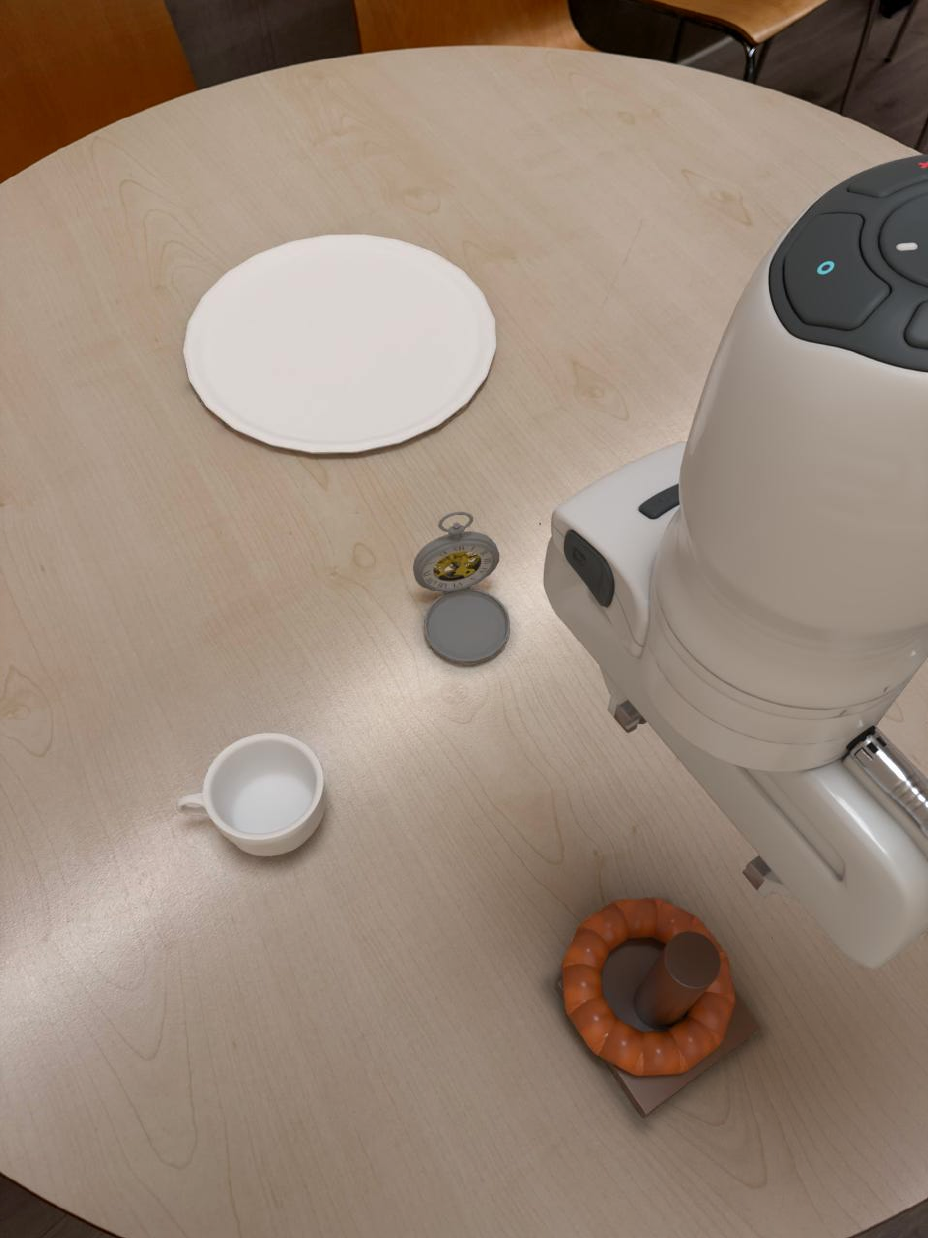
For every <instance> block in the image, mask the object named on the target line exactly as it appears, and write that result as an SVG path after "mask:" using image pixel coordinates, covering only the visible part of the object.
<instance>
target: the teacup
mask: <svg viewBox="0 0 928 1238" xmlns="http://www.w3.org/2000/svg"><path fill="white" fill-rule="evenodd" d="M324 789H325V780H324V771H323V768H322V764H321V762H320V760H319V758H318V757H317V755H316V753H315V752H314V751H313V750H312V748H310V747H309V745H307V744H305V743H304V741H301V740H300V739H297V738H295V737H294V736H291V735H288V734H285V733H276V732H263V733H256V734H252V735H247V736H245V737H243V738H240V739H238V740H236V741H234V742H233V743H231V744H229V745H228V746H226V747H225V748H224V749H223V750H222V751H221V752H220V753H218V755H217V756H216V757H215V758H214V759H213V761H212V762H211V764H210V765H209V767H208V769H207V771H206V774H205V775H204V780H203V785H202V791H201V792H196V793H191V794H186V795H183V796H181V797H179V798H178V799H177V801H176V803H175V807H176V811H177V812H178V813H180V814H182V815H187V816H194V817H202V818H208V819H210V820H211V822H212V823H213V824H214V825H215V827H216V828H217V830H218V831H219V832H220V833H221V834H222V835H223V836H224V837H225V838H227V840H229V841H230V842H231V843H233V845H235V846H236V847H237V848H238V849H240V850H241V851H242V852H244V853H246V854H249V855H253V856H257V857H273V856H279V855H283V854H284V855H285V854H287V853H290V852H292V851H294V850H296V849H298V848H299V847H300V846H302V845H303V844H305V842H306V841H307V840H308V839H309V838H310V837H311V836H312V835H313V834H314V833H315V831H316V829H317V828H318V827H319V825H320V823H321V821H322V818H323V815H324V812H325V793H324V792H325V790H324ZM190 805H195V806H190ZM197 806H198V807H197Z"/></svg>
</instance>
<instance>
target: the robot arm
mask: <svg viewBox="0 0 928 1238" xmlns="http://www.w3.org/2000/svg"><path fill="white" fill-rule="evenodd" d="M743 288H744V289H743V291H741V292H742V293H741V294H740V296H739V299H738V300H737V303H736V304H735V307H734V308H733V311H732V313H731V314H730V315H731V316H730V318H729V320H728V322H727V324H726V327H725V330H724V332H723V334H722V336H721V338H720V339H721V340H720V342H719V344H718V347H717V350H716V352H715V355H714V357H713V360H712V363H711V365H710V368H709V371H708V373H707V376H706V380H705V382H704V385H703V389H702V391H701V393H700V394H701V395H700V397H699V401H698V404H697V407H696V409H695V413H694V416H693V419H692V423H691V426H690V430H689V433H688V436H687V440H686V441H677V442H675V443H672V444H669V445H667V446H664V447H661V448H659V449H656V450H654V451H652V452H649V453H647V454H644V455H643V456H641V457H638V458H636V459H634V460H632V461H630V462H627V463H626V464H624V465H622V466H620V467H618V468H616V469H614V470H612V471H610V472H609V473H607V474H605V475H604V476H601V477H600V478H598V479H596V480H595V481H593V482H592V483H590V484H589V485H587V486H585V487H584V488H582V489H581V490H579V491H577V492H576V493H574V494H573V495H572V496H570V497H569V498H567V499H566V500H565V501H563V502H562V503H561V504H559V505H557V506H556V507H555V508H554V509H553V511H552V514H551V518H550V532H551V536H550V538H549V540H548V543H547V546H546V547H547V548H546V552H545V558H544V565H543V576H542V577H543V578H542V581H543V582H542V583H543V590H544V592H545V594H546V598H547V600H548V602H549V605H550V606H551V608H552V610H553V612H554V613H555V615H556V616H557V618H558V619H559V620H560V621H561V623H563V624H564V626H566V628H567V629H568V630H569V632H571V634H572V635H573V636H574V637H575V638H576V640H577V641H578V642H579V643H580V644H581V646H582V647H583V648H584V649H585V650H586V652H587V653H588V654H589V655H590V656H591V657H592V659H593V660H594V661H595V662H596V664H597V665H598V667H599V669H600V672H601V675H602V679H603V681H604V684H605V685H606V689H607V692H608V694H609V696H610V697H609V703H608V706H607V711H608V713H610V714H611V716H612V717H613V719H614V720H615V721H616V722H617V723H618V725H619V726H620V727H621V728H622V729H623V730H624V732H625V733H627V734H631V733H632V732H634V731H636V730H637V728H638V725H645V724H646V723H647V724H648V725H649V727H650V728H651V729H652V730H653V732H654V733H656V734H657V736H658V738H660V740H661V741H662V742H663V743H664V744H665V745H666V747H667V748H668V749H669V750H670V751H671V752H672V754H673V755H674V756H675V757H676V759H677V760H678V761H679V762H680V763H681V765H682V766H683V767H684V769H686V770H687V771H688V773H689V774H690V775H691V777H692V778H694V780H695V782H697V783H698V785H699V786H700V787H701V788H702V789H703V791H704V792H705V793H706V794H707V796H709V797H710V799H711V800H712V801H713V803H714V804H716V806H717V807H718V808H719V810H720V811H721V812H722V813H723V814H724V815H725V817H726V818H727V819H728V820H729V821H730V823H731V824H732V826H734V828H735V829H736V830H737V831H738V832H739V834H740V835H741V836H742V837H743V838H744V839H745V841H746V842H747V843H748V844H749V846H751V848H752V849H753V850H754V851H755V852H756V854H757V856H755V857H754V858H752V859H751V860H750V861H748V863H747V864H746V866H745V869H743V870H742V871H741V873H742V874H743V875H744V878H745V879H747V880H748V882H749V883H750V884H751V886H752V887H753V888H754V890H755V891H756V892H757V894H758V895H759V896H760V897H761V898H762V899H763V900H764V901H766V900H768V899H769V898H771V897H772V896H774V895H775V894H778V895H781V896H783V897H785V898H789V899H792V900H794V901H797V903H798V904H799V905H800V906H801V907H802V908H803V909H804V910H805V912H806V913H807V914H808V915H809V916H810V918H811V919H812V920H813V922H814V923H815V924H817V926H818V927H819V928H820V930H821V931H822V932H823V933H824V935H825V936H826V937H827V938H828V940H830V941H831V943H832V945H834V947H835V948H836V949H837V950H838V951H839V952H840V953H841V955H843V957H845V958H846V959H848V960H849V961H851V962H853V963H855V964H857V965H859V966H862V967H864V968H866V969H869V970H878V969H880V968H881V967H882V966H884V965H885V964H886V963H889V961H891V960H892V959H893V958H894V957H896V956H897V955H898V954H899V953H902V952H903V951H904V950H906V948H908V947H909V946H910V945H911V944H913V943H914V942H915V941H916V940H917V939H919V938H920V937H921V936H922V935H924V933H926V932H927V931H928V778H927V777H926V775H925V774H923V773H922V771H920V769H918V768H917V766H916V765H915V764H914V763H913V762H912V761H911V760H910V759H909V758H908V757H907V756H906V755H905V754H904V752H902V751H901V750H900V749H899V748H898V747H897V746H896V745H895V744H894V743H893V741H891V740H890V739H889V738H888V737H887V735H886V734H885V733H884V732H882V731H881V729H880V728H879V727H878V724H879V723H880V721H881V719H883V717H884V716H885V714H886V713H888V711H889V710H890V708H891V707H892V705H893V704H894V702H895V701H896V700H897V699H898V697H899V696H901V693H902V692H903V691H904V689H905V688H906V687H907V686H908V685H909V683H910V682H911V680H912V679H913V678H914V676H915V675H916V674H917V672H918V671H919V670H920V668H921V667H922V666H923V664H924V663H925V661H926V660H927V658H928V153H925V154H917V155H910V156H905V157H900V158H897V159H896V158H895V159H892V160H889V161H886V162H881V163H879V164H877V165H873V166H871V167H868V168H865V169H863V170H861V171H858V172H857V173H855V174H852V175H851V176H848V177H847V178H845V179H843V180H841V181H839V182H837V183H836V184H834V185H833V186H831V187H829V188H828V189H827V190H826V191H824V192H822V194H820V195H819V196H818V197H816V198H815V199H814V200H813V201H811V202H810V203H809V204H808V205H807V206H806V207H805V208H804V209H802V211H801V212H800V213H799V214H797V216H796V217H795V218H794V219H793V220H792V222H791V223H790V224H789V225H788V226H787V227H786V228H785V229H784V230H783V231H782V232H781V233H780V235H778V237H777V238H776V239H775V241H774V242H773V243H772V244H771V246H770V247H769V249H768V250H767V251H766V253H765V254H764V255H763V257H762V259H761V260H760V261H759V263H758V265H757V266H756V268H755V270H754V271H753V273H752V275H751V276H750V278H749V280H748V281H747V283H746V285H745V287H743Z"/></svg>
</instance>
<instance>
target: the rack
mask: <svg viewBox="0 0 928 1238" xmlns="http://www.w3.org/2000/svg"><path fill="white" fill-rule="evenodd" d="M720 968H721V959H720V955H719V952H718V950H717V948H716V946H715V945H714V943H713V942H712V941H711V940H710V939H709V938H707V937H706V936H704V935H703V934H700V933H698V932H693V931H685V932H681V933H678V934H676V935H675V936H673V937H672V938H671V939H670V940H669V942H668V943H667V945H666V944H664V943H662V942H660V941H658V940H656V939H654V938H652V937H650V938H630V939H627V940H626V941H624V942H623V943H621V944H620V945H618V946H617V947H616V948H614V949H613V950H611V951H610V952H609V955H608V957H607V959H606V962H605V964H604V966H603V969H602V971H601V978H602V986H603V995H604V999H605V1000H606V1002H607V1003H608V1004H609V1006H610V1007H611V1009H612V1010H613V1012H614V1013H615V1015H616V1016H617V1018H618V1019H619V1020H621V1021H623V1022H624V1023H626V1024H628V1025H630V1026H632V1027H634V1028H636V1029H638V1030H640V1031H642V1032H649V1031H667V1030H669V1029H670V1028H671V1027H673V1026H674V1025H675V1024H677V1023H678V1022H679V1021H681V1020H682V1019H684V1018H685V1017H686V1015H687V1013H688V1010H689V1009H690V1007H691V1006H692V1005H693V1004H694V1003H695V1002H696V1001H697V1000H698V999H699V997H700V996H701V995H702V994H703V993H704V992H705V991H706V990H707V989H708V988H709V986H710V985H711V984H712V983H713V982H714V981H715V980H716V978H717V977H718V975H719V972H720ZM554 989H555V991H556V992H557V993H558V995H559V996H560V998H561V999H562V1001H563V1003H565V1001H564V991H563V981H562V978H561V979H558V980H557V981H556V983H555V986H554ZM734 993H735V1006H734V1009H733V1012H732V1015H731V1018H730V1020H729V1023H728V1026H727V1029H726V1032H725V1035H724V1037H723V1040H722V1042H721V1044H720V1046H719V1047H718V1048H717V1049H716V1050H714V1051H713V1052H712V1053H710V1054H709V1055H708V1056H706V1057H705V1058H704V1059H702V1060H701V1061H700V1062H698V1063H697V1064H696V1065H695V1066H693V1067H692V1068H691V1069H689V1070H688V1071H686V1072H684V1073H681V1074H670V1075H651V1076H637V1075H633V1074H631V1073H629V1072H627V1071H626V1070H624V1069H622V1068H620V1067H618V1066H616V1065H614V1064H612V1063H610V1062H609V1061H607V1060H605V1059H603V1058H601V1059H602V1060H603V1062H604V1063H605V1065H606V1066H607V1068H608V1069H609V1071H610V1072H611V1074H612V1075H613V1077H614V1078H615V1079H616V1081H617V1082H618V1084H619V1086H620V1087H621V1089H622V1091H623V1092H624V1093H625V1094H626V1096H627V1097H628V1099H629V1101H630V1102H631V1103H632V1105H633V1107H634V1108H635V1109H636V1111H637V1112H638V1114H639V1115H640V1117H641V1118H643V1119H644V1118H645V1117H646V1116H648V1115H649V1114H650V1113H651V1112H653V1111H654V1110H655V1109H657V1108H658V1107H659V1106H661V1105H662V1104H663V1103H665V1102H666V1101H667V1100H668V1099H670V1098H671V1097H673V1096H674V1095H676V1093H678V1092H679V1091H680V1090H681V1089H683V1088H684V1087H686V1086H687V1085H688V1084H689V1083H691V1082H692V1081H693V1080H695V1079H696V1078H697V1077H698V1076H700V1075H701V1074H703V1073H704V1072H705V1071H706V1070H708V1069H709V1068H711V1066H713V1065H714V1064H716V1062H718V1061H719V1060H721V1059H722V1058H723V1057H724V1056H726V1055H727V1054H728V1053H730V1052H731V1051H732V1050H734V1049H735V1048H736V1047H738V1046H739V1045H740V1044H741V1043H743V1042H744V1041H745V1040H746V1039H748V1038H750V1036H752V1035H753V1034H754V1033H756V1032H757V1031H758V1030H760V1029H761V1028H762V1026H761V1024H760V1023H759V1022H758V1021H757V1019H756V1018H755V1016H754V1015H753V1014H752V1012H751V1011H750V1010H749V1009H748V1007H747V1006H746V1005H745V1003H744V1002H743V1000H742V999H741V998H740V997H739V996H738V994H737V993H736V992H735V991H734Z"/></svg>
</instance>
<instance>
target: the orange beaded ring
mask: <svg viewBox="0 0 928 1238" xmlns="http://www.w3.org/2000/svg"><path fill="white" fill-rule="evenodd" d="M685 931H693V932H698V933H700V934H703V935H704V936H706V937H707V938H709V939H710V940H711V941H712V942H713V943H714V945H715V946H716V948H717V950H718V952H719V955H720V959H721V968H720V972H719V975H718V977H717V978H716V980H715V981H714V982H713V983H712V984H711V985H710V986H709V988H708V989H707V990H706V991H705V992H704V993H703V994H702V995H701V996H700V997H699V999H698V1000H697V1001H696V1002H695V1003H694V1004H693V1005H692V1006H691V1007H690V1009H689V1010H688V1013H687V1015H686V1017H685V1018H684V1019H682V1020H681V1021H679V1022H678V1023H677V1024H675V1025H674V1026H673V1027H671V1028H670V1029H669V1030H667V1031H649V1032H642V1031H640V1030H638V1029H636V1028H634V1027H632V1026H630V1025H628V1024H626V1023H624V1022H623V1021H621V1020H619V1019H618V1018H617V1016H616V1015H615V1013H614V1012H613V1010H612V1009H611V1007H610V1006H609V1004H608V1003H607V1002H606V1000H605V999H604V995H603V986H602V978H601V971H602V969H603V966H604V964H605V962H606V959H607V957H608V955H609V952H610V951H611V950H613V949H614V948H616V947H617V946H618V945H620V944H621V943H623V942H624V941H626V940H627V939H630V938H650V937H652V938H654V939H656V940H658V941H660V942H662V943H664V944H666V945H667V943H668V942H669V940H670V939H671V938H672V937H673V936H675V935H676V934H678V933H681V932H685ZM560 968H561V979H562V981H563V991H564V1001H565V1002H564V1001H563V1002H564V1008H565V1009H564V1010H565V1013H566V1014H567V1015H566V1016H567V1017H568V1018H569V1019H570V1021H571V1023H572V1025H574V1027H575V1028H576V1030H577V1031H578V1033H579V1034H580V1036H581V1038H582V1040H583V1041H584V1042H585V1043H586V1045H587V1046H588V1049H590V1051H591V1052H592V1053H593V1054H595V1056H597V1057H599V1058H601V1059H602V1058H603V1059H605V1060H607V1061H609V1062H610V1063H612V1064H614V1065H616V1066H618V1067H620V1068H622V1069H624V1070H626V1071H627V1072H629V1073H631V1074H633V1075H637V1076H651V1075H670V1074H681V1073H684V1072H686V1071H688V1070H689V1069H691V1068H692V1067H693V1066H695V1065H696V1064H697V1063H698V1062H700V1061H701V1060H702V1059H704V1058H705V1057H706V1056H708V1055H709V1054H710V1053H712V1052H713V1051H714V1050H716V1049H717V1048H718V1047H719V1046H720V1044H721V1042H722V1040H723V1037H724V1035H725V1032H726V1029H727V1026H728V1023H729V1020H730V1018H731V1015H732V1012H733V1009H734V1006H735V993H736V992H735V988H734V983H733V977H732V972H731V965H730V961H729V957H728V955H727V953H726V951H725V950H724V948H723V947H722V946H721V944H720V943H719V942H718V940H717V938H715V936H714V935H713V934H712V933H711V931H710V930H709V929H708V928H707V926H706V924H704V922H703V920H701V918H700V917H698V916H696V915H695V914H693V913H691V912H688V911H686V910H684V909H682V908H680V907H678V906H676V905H675V904H673V903H670V902H668V901H666V900H665V899H662V898H658V897H644V898H643V897H641V898H626V899H625V898H623V899H622V898H621V899H615V900H613V901H611V902H609V903H608V904H606V905H605V906H603V907H602V908H600V909H599V910H597V911H596V912H595V913H593V914H591V915H590V916H588V917H587V918H585V919H583V920H582V921H581V922H580V923H579V924H578V926H577V927H576V930H575V932H574V935H573V936H572V939H571V941H570V943H569V946H568V947H567V950H566V952H565V954H564V957H563V958H562V961H561V967H560ZM734 992H735V993H734ZM603 1059H602V1060H603Z"/></svg>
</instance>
